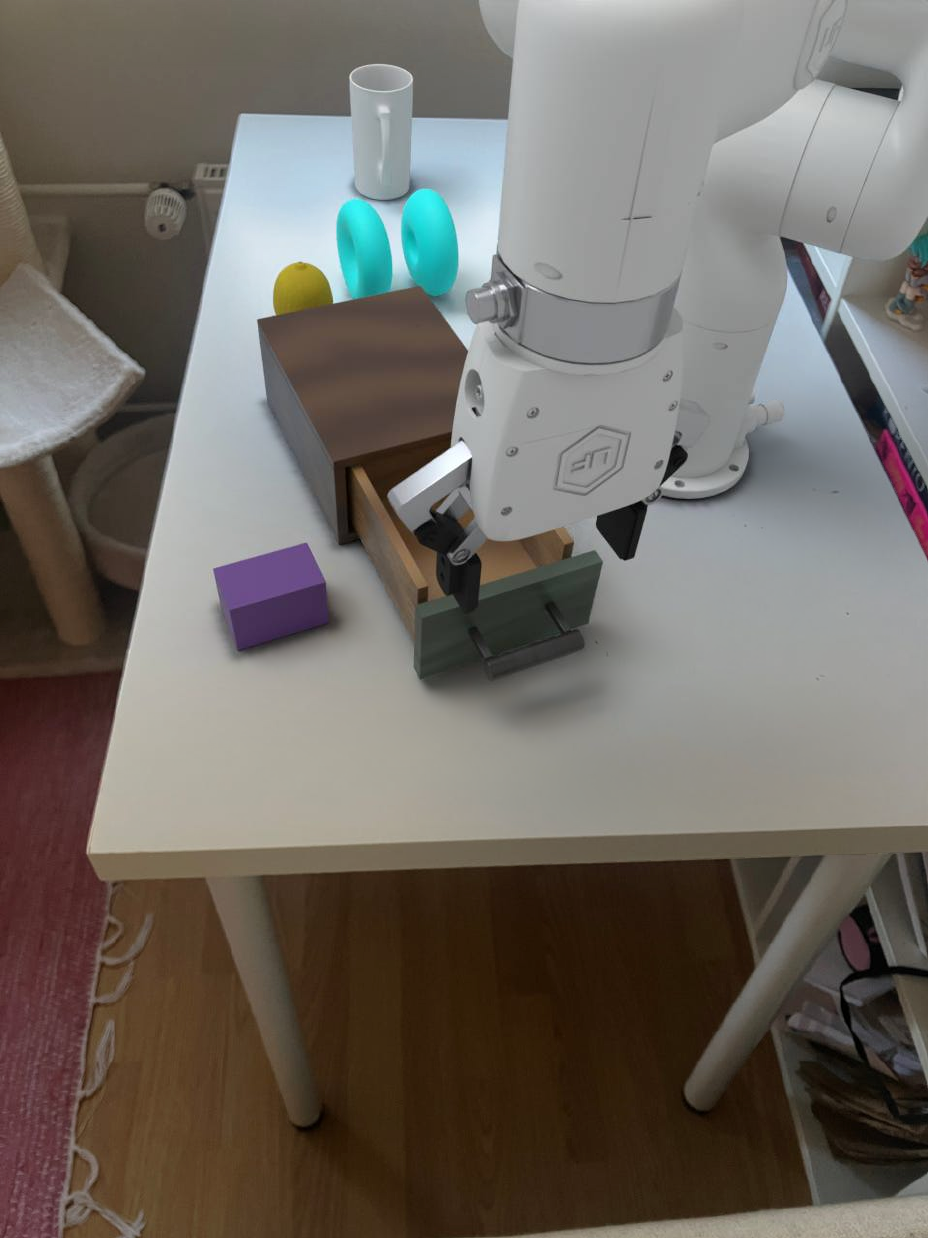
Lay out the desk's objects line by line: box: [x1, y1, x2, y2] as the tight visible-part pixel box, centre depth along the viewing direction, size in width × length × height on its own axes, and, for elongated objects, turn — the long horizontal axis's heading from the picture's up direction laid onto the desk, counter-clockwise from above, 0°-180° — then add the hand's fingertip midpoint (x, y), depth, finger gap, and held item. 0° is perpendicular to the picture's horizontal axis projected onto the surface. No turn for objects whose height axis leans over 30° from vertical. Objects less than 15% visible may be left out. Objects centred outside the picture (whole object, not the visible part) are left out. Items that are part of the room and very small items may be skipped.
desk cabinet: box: [256, 285, 469, 545], centre depth 84 cm, size 19×15×9 cm
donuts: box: [335, 188, 460, 299], centre depth 98 cm, size 10×10×10 cm
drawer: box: [345, 440, 604, 682], centre depth 74 cm, size 22×14×7 cm, turn 24°
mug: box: [348, 63, 414, 201], centre depth 110 cm, size 10×7×12 cm, turn 7°
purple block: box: [212, 542, 330, 651], centre depth 73 cm, size 7×4×5 cm, turn 114°
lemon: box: [272, 261, 334, 315], centre depth 93 cm, size 6×6×8 cm
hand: (538, 567), depth 55 cm, fingers open, 9 cm apart
